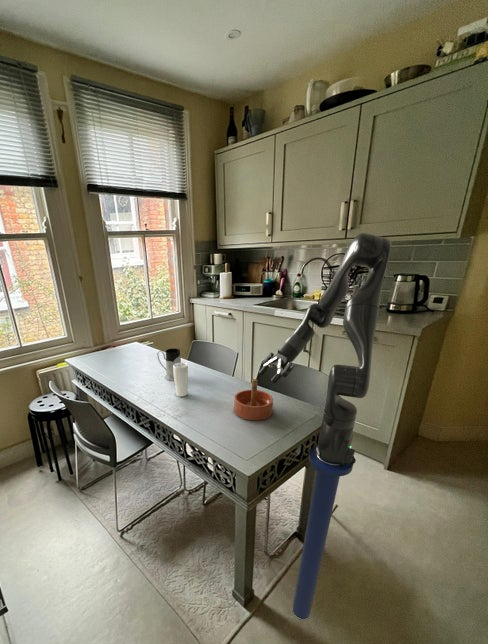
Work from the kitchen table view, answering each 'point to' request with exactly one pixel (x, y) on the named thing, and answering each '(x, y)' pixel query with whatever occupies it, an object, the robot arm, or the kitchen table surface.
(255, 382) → the wooden knob stand
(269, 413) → the bowl
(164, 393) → the kitchen table surface
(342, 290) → the robot arm
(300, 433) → the kitchen table surface
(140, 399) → the kitchen table surface
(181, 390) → the drinking glass
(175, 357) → the pitcher
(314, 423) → the kitchen table surface
